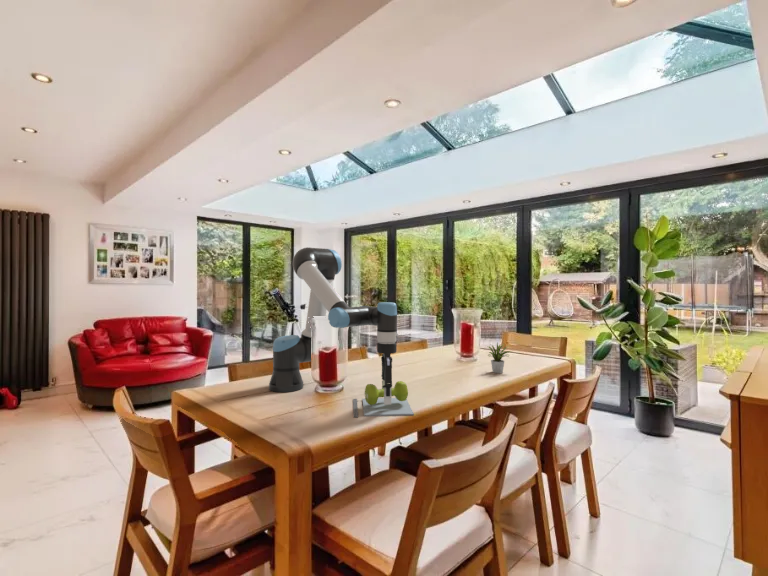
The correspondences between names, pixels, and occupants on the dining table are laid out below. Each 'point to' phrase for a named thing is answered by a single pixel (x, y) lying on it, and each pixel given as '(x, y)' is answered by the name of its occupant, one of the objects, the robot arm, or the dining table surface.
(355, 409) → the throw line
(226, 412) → the dining table surface
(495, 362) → the house plant
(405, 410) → the mat
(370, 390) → the dumbbell
